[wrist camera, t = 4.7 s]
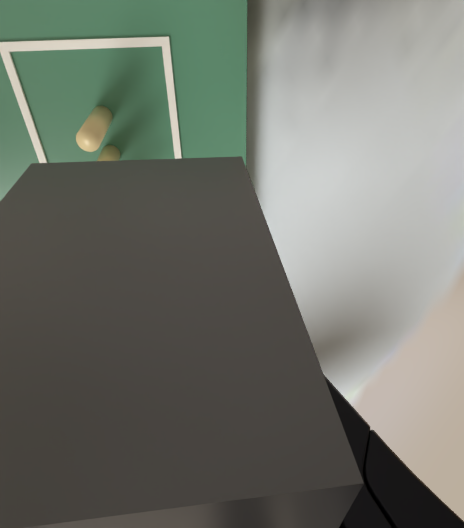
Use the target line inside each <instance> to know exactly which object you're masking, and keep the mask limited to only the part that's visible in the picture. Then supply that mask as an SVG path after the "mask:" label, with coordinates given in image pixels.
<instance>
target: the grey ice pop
mask: <svg viewBox="0 0 464 528" xmlns="http://www.w3.org/2000/svg"><path fill="white" fill-rule="evenodd" d="M363 484H364V482H363V479H362V477H361V474H360V471H359V469H358V466H357V463H356V461H355V458H354V455H353V453H352V450H351V447H350V445H349V442H348V439H347V437H346V434H345V431H344V429H343V426H342V423H341V420H340V418H339V415H338V412H337V410H336V407H335V404H334V402H333V399H332V396H331V394H330V391H329V388H328V386H327V383H326V380H325V378H324V375H323V372H322V370H321V367H320V364H319V362H318V359H317V356H316V354H315V351H314V348H313V346H312V343H311V340H310V338H309V335H308V332H307V330H306V327H305V324H304V322H303V319H302V316H301V313H300V311H299V308H298V305H297V303H296V300H295V297H294V295H293V292H292V289H291V287H290V284H289V281H288V279H287V276H286V273H285V271H284V268H283V265H282V263H281V260H280V257H279V255H278V252H277V249H276V247H275V244H274V241H273V239H272V236H271V233H270V231H269V228H268V225H267V223H266V220H265V217H264V215H263V212H262V209H261V206H260V204H259V201H258V198H257V196H256V193H255V190H254V188H253V185H252V182H251V180H250V177H249V174H248V172H247V169H246V166H245V164H244V161H243V158H242V156H239V157H209V158H179V159H149V160H119V161H89V162H58V163H31V164H30V166H29V167H28V168H27V169H26V171H25V172H24V173H23V174H22V175H21V177H20V178H19V179H18V180H17V182H16V183H15V184H14V185H13V186H12V188H11V189H10V190H9V191H8V193H7V194H6V195H5V196H4V198H3V199H2V200H1V201H0V528H339V526H340V525H341V523H342V521H343V519H344V518H345V516H346V514H347V512H348V511H349V509H350V507H351V505H352V503H353V502H354V500H355V498H356V496H357V495H358V493H359V491H360V489H361V488H362V486H363Z"/></svg>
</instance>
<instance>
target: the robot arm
mask: <svg viewBox="0 0 464 528" xmlns="http://www.w3.org/2000/svg"><path fill="white" fill-rule="evenodd" d="M323 375H324V374H323ZM324 378H325V380H326V383H327V386H328V388H329V391H330V394H331V396H332V399H333V402H334V404H335V407H336V410H337V412H338V415H339V418H340V420H341V423H342V426H343V429H344V431H345V434H346V437H347V439H348V442H349V445H350V447H351V450H352V453H353V455H354V458H355V461H356V463H357V466H358V469H359V471H360V474H361V477H362V479H363V482H364V484H363V486H362V488H361V489H360V491H359V493H358V495H357V496H356V498H355V500H354V502H353V503H352V505H351V507H350V509H349V511H348V512H347V514H346V516H345V518H344V519H343V521H342V523H341V525H340V526H339V528H464V521H463V520H462V519H460V518H459V517H458V516H457V515H456V514H455V513H454V512H453V511H452V510H451V509H450V508H449V507H448V506H447V505H446V504H445V503H443V502H442V501H441V500H440V499H439V498H438V497H437V496H436V495H435V494H434V493H433V492H432V491H431V490H430V489H429V488H428V487H427V486H426V485H425V484H424V483H423V482H422V481H421V480H420V479H419V478H417V476H416V475H415V474H414V473H413V472H412V471H411V470H410V469H409V468H408V467H407V466H406V465H405V464H404V463H403V462H402V461H401V460H400V459H399V457H398V456H397V455H396V454H395V453H394V452H393V451H392V450H391V449H390V448H389V447H388V446H387V445H386V444H385V442H384V441H383V440H382V439H381V438H380V437H379V436H378V434H377V433H376V432H375V431H374V430H370V426H369V425H368V424H367V422H366V421H365V420H364V419H363V418H362V417H361V416H360V415H359V414H358V412H357V411H356V410H355V409H354V408H353V407H352V406H351V405H350V403H349V402H348V401H347V400H346V399H345V398H344V397H343V396H342V395H341V393H340V392H339V391H338V390H337V389H336V388H335V387H334V386H333V385H332V383H331V382H330V381H329V380H328V379H327V378H326V377H325V376H324Z"/></svg>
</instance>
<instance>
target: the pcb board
mask: <svg viewBox="0 0 464 528" xmlns="http://www.w3.org/2000/svg"><path fill="white" fill-rule="evenodd" d="M246 108H247V0H0V201H1V200H2V199H3V198H4V196H5V195H6V194H7V193H8V191H9V190H10V189H11V188H12V186H13V185H14V184H15V183H16V182H17V180H18V179H19V178H20V177H21V175H22V174H23V173H24V172H25V171H26V169H27V168H28V167H29V166H30V164H31V163H58V162H89V161H119V160H149V159H179V158H209V157H239V156H242V158H243V161H244V164H245V166H246Z"/></svg>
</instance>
